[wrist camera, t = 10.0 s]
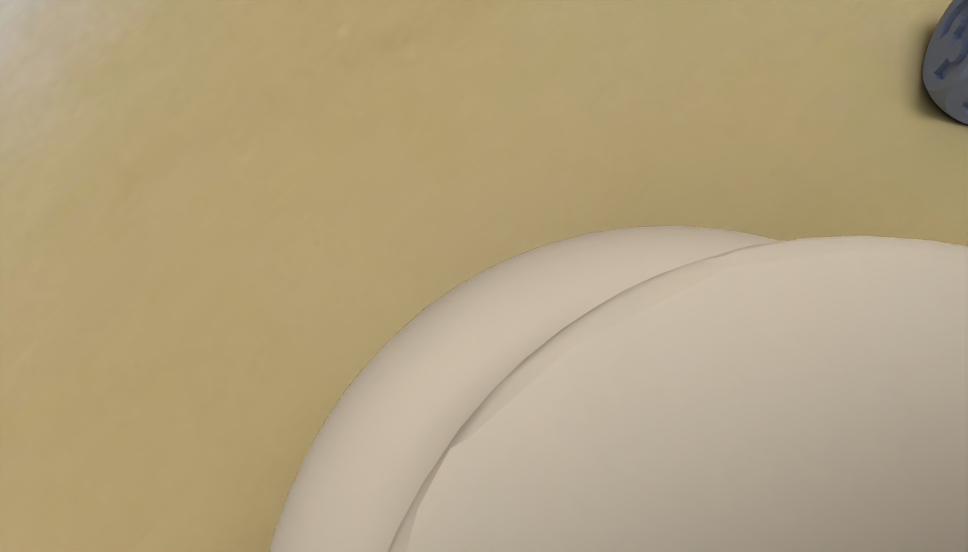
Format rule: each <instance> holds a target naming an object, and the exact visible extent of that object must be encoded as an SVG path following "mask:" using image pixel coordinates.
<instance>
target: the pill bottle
mask: <svg viewBox="0 0 968 552" xmlns="http://www.w3.org/2000/svg"><path fill="white" fill-rule="evenodd" d="M269 552H968V246H964V245H958V244H951V243H944V242H938V241H931V240H920V239H907V238H895V237H882V236H869V235H854V236H835V237H815V238H801V239H794V240H787V241H780V240H775V239H771V238H767V237H762V236H758V235H753V234H749V233H744V232H738V231H732V230H725V229H719V228H705V227H692V226H647V227H629V228H619V229H613V230H606V231H600V232H593V233H587V234H583V235H579V236H576V237H572V238H568V239H565V240H561V241H557V242H554V243H550V244H547V245H543V246H541V247H538V248H535V249H533V250H530V251H527V252H525V253H522V254H519V255H517V256H514V257H511V258H509V259H507V260H505V261H503V262H501V263H499V264H496V265H494V266H492V267H490V268H488V269H486V270H485V271H483V272H481V273H479V274H477V275H476V276H474V277H472V278H470V279H468V280H467V281H465V282H463V283H461V284H459V285H458V286H456V287H455V288H453V289H452V290H450V291H449V292H447V293H446V294H444V295H443V296H442V297H440V298H439V299H437V300H436V301H434V302H433V303H431V304H430V305H429V306H427V307H426V308H424V309H423V310H422V311H421V312H420V313H419V314H418V315H416V316H415V317H414V318H413V319H412V320H411V321H410V322H409V323H408V324H406V325H405V326H404V327H403V328H402V329H401V330H400V331H399V332H398V333H397V334H395V335H394V336H393V337H392V338H391V339H390V340H389V341H388V342H387V343H386V344H385V345H384V346H383V347H382V348H381V349H380V350H379V352H378V353H377V354H376V355H375V356H374V357H373V358H372V359H371V360H370V361H369V362H368V363H367V365H366V366H365V367H364V368H363V369H362V370H361V372H360V373H359V374H358V375H357V377H356V378H355V379H354V380H353V382H352V383H351V384H350V385H349V387H348V388H347V389H346V391H345V392H344V393H343V395H342V396H341V398H340V399H339V401H338V402H337V404H336V405H335V406H334V408H333V409H332V411H331V412H330V414H329V416H328V417H327V419H326V421H325V423H324V424H323V426H322V428H321V429H320V431H319V433H318V434H317V436H316V438H315V439H314V441H313V443H312V445H311V447H310V448H309V450H308V452H307V454H306V456H305V458H304V460H303V462H302V464H301V466H300V468H299V471H298V473H297V476H296V478H295V480H294V482H293V484H292V486H291V488H290V491H289V493H288V496H287V499H286V501H285V504H284V506H283V509H282V512H281V514H280V517H279V520H278V522H277V525H276V528H275V531H274V535H273V539H272V543H271V546H270V550H269Z"/></svg>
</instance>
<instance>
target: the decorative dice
mask: <svg viewBox="0 0 968 552" xmlns="http://www.w3.org/2000/svg"><path fill="white" fill-rule="evenodd" d="M923 81H924V84H925V87H926V89H927V91H928V93H929V95H930V96H931V98H932V99H933V101H934V102H935V103H936V104H937V105H938V106H939V107H940V108H941V109H942V110H943V111H944V112H946V113H947V114H948V115H950V116H951V117H953V118H955V119H956V120H958V121H960V122H962V123H965V124H968V0H953V1H952V2H951V4H950V5H949V6H948V8H947V9H946V11H945V12H944V14H943V16H942V17H941V19H940V21H939V23H938V24H937V26H936V28H935V30H934V33H933V35H932V37H931V40H930V42H929V45H928V48H927V51H926V55H925V59H924V64H923Z"/></svg>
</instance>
